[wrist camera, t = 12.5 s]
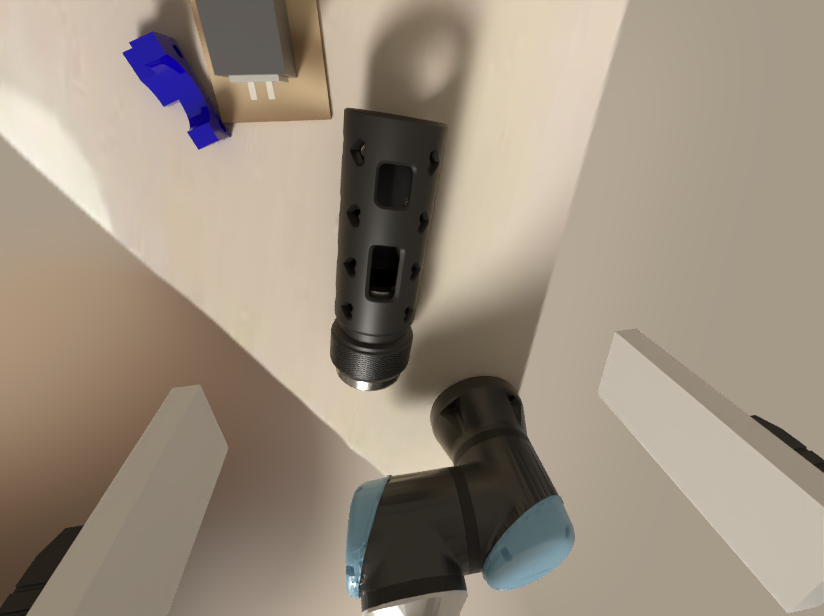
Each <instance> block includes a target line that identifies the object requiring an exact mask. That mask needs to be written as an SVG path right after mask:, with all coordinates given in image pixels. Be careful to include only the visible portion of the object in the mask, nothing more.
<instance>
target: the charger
mask: <svg viewBox="0 0 824 616" xmlns="http://www.w3.org/2000/svg"><path fill="white" fill-rule="evenodd" d="M195 2H196V6H197V10H198V13H199V17H200V21H201V25H202V29H203V33H204V36H205V40H206V44H207V48H208V52H209V56H210V59H211V63H212V67H213V71H214V75H217V76H223V77H229V79H230V82H235V83H243V84H248V88H249V92H250V97H251V100H258V95H257V91H256V86H255V84H264V83H266V87H267V92H268V97H269V99H276V97H275V92H274V87H273V83H289V81H288V78H297V71H296V65H295V59H294V53H293V46H292V40H291V34H290V28H289V21H288V15H287V9H286V3H285V0H195Z"/></svg>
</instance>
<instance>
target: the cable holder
mask: <svg viewBox="0 0 824 616" xmlns="http://www.w3.org/2000/svg"><path fill="white" fill-rule="evenodd" d="M129 43H130V45H131V46H132V48H131V49H129V50H127V51H125V52H123V55H124V56H125V58H126V59H127V61H128V62H129V64H130V65H131V67H132V68H133V70H134V71H135V73H136V74H137V76H138V77H139V79H140V80H141V81H142V82H143V83H144V84H145V85H146V86H147V87H148V88H149V89H150V90H151V91H152V92H153V93H154V94H155V96H156V97H157V98H158V100H159V101H160V102H161V104H162V105H163V107H166V106H172V105H174V104H176V103H178V102H180V103H181V104H182V106H183V108H184V110H185V112H186V114H187V117H188V119H189V123H190V130H189V131H188V132H187V133H188V134H189V136H190V137H191V139H192V140H193V142H194V143H195V145H196V146H197V148H198V150H199V149H202V148H205V147H208V146H210V145H213V144H215V143H218V142H220V141H222V140H225V139H227V138H229V137H231V135H230V133H229V132H228V130H227V128H226V127H225V125H224V123H222V120H221V118H220V117H219V115H218V113H217V111H216V110H215V108H214V106H213V105H212V103H211V101H210V100H209V98H208V96H207V94H206V93H205V91H204V89H203V88H202V86H201V84H200V83H199V81H198V79H197V78H196V76H195V74H194V72H193V71H192V69H191V67H190V66H189V64H188V62H187V61H186V59H185V57H184V56H183V54H182V52H181V50H180V49H179V47H178V45H177V44H176V42H175V40H174V39H173V38H170V37H167V36H164V35H161V34H158V33H155V32H151V33H148V34H146V35H144V36H142V37H140V38H138V39H136V40H133V41H131V42H129Z"/></svg>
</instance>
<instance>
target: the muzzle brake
mask: <svg viewBox="0 0 824 616" xmlns="http://www.w3.org/2000/svg"><path fill="white" fill-rule="evenodd" d="M447 130H448V126H447V125H446V124H442V123H438V122H433V121H428V120H423V119H417V118H412V117H406V116H400V115H394V114H388V113H382V112H376V111H369V110H362V109H355V108H346V109H344V127H343V135H344V142H343V155H342V168H341V189H340V194H341V203H340V214H339V231H338V259H337V272H336V300H335V315H336V317H337V318H336V319H335V321H334V323H333V325H332V328H331V345H330V356H331V360H332V362H333V364H334V365H335V367H336V371H337V374H338V376H339V377H340V379H341V380H342V381H343V382H345V383H346V384H347V385H349V386H351V387H353V388H356V389H359V390H363V391H377V390H382V389H385V388H387V387H389V386H391V385H392V384H394V383H395V382H396V381H397V379H398V378H399V376H400V373H401V372H402V371H403V370H404V369H405V368H406V366H407V364H408V361H409V357H410V351H411V346H412V340H413V332H412V329H411V326H410V325H411V324H412V322H413V320H414V315H415V309H416V304H417V298H418V293H419V287H420V281H421V276H422V270H423V265H424V259H425V253H426V248H427V242H428V237H429V231H430V225H431V220H432V214H433V209H434V203H435V197H436V192H437V186H438V180H439V175H440V169H441V164H442V158H443V152H444V147H445V141H446V136H447ZM364 144H365V147H364V148H363V150H362V151H361V148H362V146H363V145H364ZM407 200H408V203H407V205H405V202H406V201H407Z"/></svg>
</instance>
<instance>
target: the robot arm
mask: <svg viewBox="0 0 824 616" xmlns="http://www.w3.org/2000/svg"><path fill="white" fill-rule="evenodd" d="M598 395H599V396H600V397H601V398H602V399H603V401H604V402H605V403H606V404H607V405H608V406H609V407H610V409H611V410H612V411H613V412H614V413H615V414H616V416H617V417H618V418H619V419H620V420H621V421H622V422H623V424H624V425H625V426H626V427H627V428H628V429H629V431H630V432H631V433H632V434H633V435H634V436H635V438H636V439H637V440H638V441H639V442H640V443H641V445H642V446H643V447H644V448H645V449H646V450H647V451H648V453H650V455H651V456H652V457H653V458H654V460H655V461H656V462H657V463H658V464H659V465H660V466H661V467H662V469H663V470H664V471H665V472H666V473H667V474H668V476H669V477H670V478H671V479H672V480H673V482H675V484H676V485H677V486H678V487H679V488H680V490H681V491H682V492H683V493H684V494H685V495H686V497H688V499H689V500H690V501H691V502H692V503H693V505H694V506H695V507H696V508H697V509H698V510H699V512H700V513H701V514H702V515H703V516H704V517H705V518H706V520H707V521H708V522H709V523H710V524H711V525H712V527H713V528H714V529H715V530H716V531H717V532H718V533H719V535H720V536H721V537H722V538H723V539H724V540H725V542H726V543H727V544H728V545H729V546H730V547H731V549H732V550H733V551H734V552H735V553H736V554H737V555H738V557H739V558H740V559H741V560H742V561H743V562H744V563H745V565H746V566H747V567H748V568H749V569H750V570H751V572H752V573H753V574H754V575H755V576H756V577H757V579H758V580H759V581H760V582H761V583H762V584H763V586H765V588H766V589H767V590H768V591H769V592H770V594H771V595H772V596H773V597H774V598H775V599H776V600H777V602H778V603H779V604H780V605H781V606H782V607H783V609H784V610H785V611H786V612H787V613H792V612H795V611H800V610H805V609H809V608H813V607H817V606H820V605H821V604H822V603H824V460H823V459H822V458H821V457H819V456H818V455H817V454H815V453H814V452H813V451H808V450H807V449H806V446H804V445H803V444H802V443H800V442H799V441H798V440H796V439H795V438H794V437H792V436H791V435H790V434H788V433H787V432H785V431H784V430H783V429H781V428H779V427H777V426H775V425H773V424H771V423H770V422H768V421H765V420H763V419H762V418H760V417H758V416H756V415H753V416H749V415H748V414H746V413H745V412H744V411H742V410H741V409H740V408H738V407H737V406H736V405H735V404H733V403H732V402H731V401H729V400H728V399H727V398H726V397H724V396H723V395H722V394H720V393H719V392H718V391H716V390H715V389H714V388H713V387H711V386H710V385H709V384H707V383H706V382H705V381H704V380H702V379H701V378H700V377H698V376H697V375H696V374H694V373H693V372H692V371H690V370H689V369H688V368H687V367H685V366H684V365H683V364H681V363H680V362H679V361H678V360H676V359H675V358H674V357H672V356H671V355H670V354H668V353H667V352H666V351H665V350H663V349H662V348H661V347H659V346H658V345H657V344H655V343H654V342H653V341H651V340H650V339H649V338H647V337H646V336H645V335H644V334H642V333H641V332H640V331H639V330H637V329H632V330H623V331H616V332H615V334H614V338H613V341H612V345H611V348H610V352H609V355H608V359H607V362H606V366H605V369H604V373H603V376H602V380H601V383H600V387H599V390H598ZM430 421H431V425H432V429H433V433H434V435H435V437H436V439H437V441H438V442H439V444H440V445H441V446H442V448H443V449H444V451H445V452H446V453H447V455H448V456H449V458H450V459H451V461H452V462H453V464H454V467H446V468H440V469H434V470H428V471H422V472H416V473H410V474H403V475H396V476H392V475H388V476H387V477H385V478H381V479H377V480H372V481H368V482H365V483H363V484H361V485H360V486H359V487H358V488H357V490H356V491H355V493H354V496H353V499H352V502H351V507H350V513H349V520H348V529H347V540H346V564H347V566H346V586H347V591H348V594H349V595H350V596H351V597H354V598H356V599H359V598H360V597H361V599H362V600H361V601H362V616H459V614H460V611H461V609H462V607H463V604H464V603H465V601H466V598H467V596H468V593H467V589H466V584H465V579H464V575H468V574H473V573H479V572H482V574H483V578H484V579H485V581H487V583H488V585H489V586H490V587H491V588H493V589H496V590H500V589H503V590H511V589H515V588H518V587H522V586H525V585H527V584H530V583H532V582H534V581H536V580H538V579H540V578H542V577H543V576H545V575H547V574H548V573H549V572H551V571H552V570H554V569H555V568H556V567H557V566H558V565H560V564H561V563H562V562H563V560H565V558H566V557H567V556H568V554H569V553H570V551H571V549H572V547H573V544H574V540H575V535H574V528H573V525H572V523H571V521H570V519H569V516H568V514H567V512H566V510H565V508H564V505H563V500H562V498H561V497H560V496H559V495H558V493H557V491H556V489H555V487H554V486H553V484H552V482H551V480H550V478H549V476H548V475H547V472H546V471H545V469H544V467H543V465H542V463H541V461H540V460H539V458H538V456H537V454H536V452H535V450H534V448H533V446H532V444H531V443H530V441H529V439H528V437H527V431H526V424H525V416H524V410H523V404H522V401H521V399H520V397H519V396H518V394H517V392H516V390H515V389H514V388H513V386H512V385H510V384H509V383H508V382H506V381H504V380H502V379H499V378H495V377H476V378H471V379H467V380H464V381H461V382H459V383H457V384H455V385H453V386H451V387H450V388H448V389H447V390H446V391H445V392H443V393H442V394H441V395H440V396H439V397H438V399H437V400H436V402H435V403H434V405H433V407H432V410H431V414H430ZM227 451H228V446H227V444H226V441H225V439H224V437H223V435H222V432H221V430H220V428H219V426H218V423H217V422H216V419H215V417H214V415H213V412H212V410H211V408H210V406H209V403H208V401H207V399H206V397H205V395H204V392H203V390H202V388H201V386H200V385H194V386H186V387H178V388H173V389H172V390H171V391H170V393H169V394H168V396H167V397H166V399H165V401H164V402H163V404H162V405H161V407H160V408H159V410H158V411H157V413H156V415H155V416H154V418H153V419H152V421H151V423H150V424H149V426H148V427H147V429H146V430H145V432H144V433H143V435H142V436H141V438H140V439H139V441H138V443H137V444H136V446H135V447H134V449H133V450H132V452H131V453H130V455H129V457H128V458H127V460H126V461H125V463H124V465H123V466H122V467H121V469H120V470H119V472H118V474H117V475H116V477H115V478H114V480H113V481H112V483H111V484H110V486H109V488H108V489H107V491H106V492H105V494H104V495H103V497H102V498H101V500H100V502H99V503H98V505H97V506H96V508H95V509H94V511H93V512H92V514H91V516H90V517H89V519H88V520H87V522H86V523H85V525H83V526H76V527H70V528H65V529H64V530H63V531H62V532H61V533H60V534H59V535H58V536H57V537H56V538H55V539H54V540H53V541H52V542H51V543H50V544H49V545H48V546H47V547H46V548H45V549H44V550H42V551H41V552H40V553H39V554H38V555H37V556H36V558H35V559H34V561H33V562H32V563H31V565H30V566H29V568H28V569H27V571H26V572H25V573H24V575H23V576H22V578H21V579H20V580H19V582H18V583H17V585H16V586H15V591H14V593H13V594H10V595H9V596H8V597H7V599H6V600H5V602H4V603H3V605H2V606H1V608H0V616H167V615H168V612H169V610H170V607H171V604H172V601H173V599H174V596H175V593H176V590H177V588H178V585H179V582H180V579H181V577H182V574H183V571H184V568H185V566H186V563H187V560H188V557H189V555H190V552H191V549H192V547H193V544H194V541H195V538H196V536H197V533H198V530H199V527H200V525H201V522H202V519H203V516H204V514H205V511H206V508H207V505H208V503H209V500H210V497H211V495H212V492H213V489H214V486H215V483H216V481H217V478H218V475H219V472H220V469H221V467H222V464H223V461H224V459H225V456H226V453H227Z"/></svg>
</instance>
